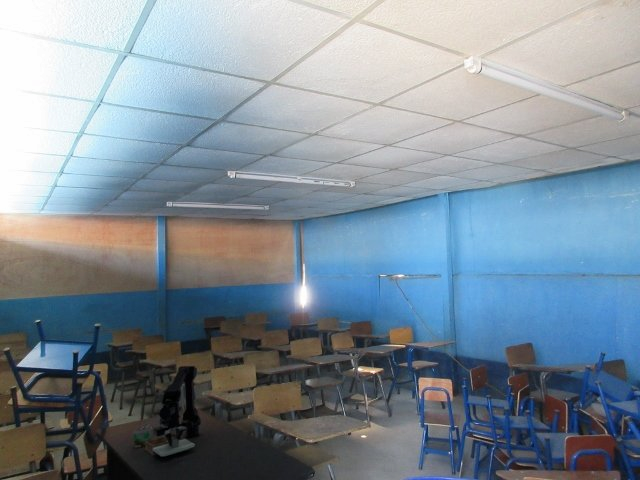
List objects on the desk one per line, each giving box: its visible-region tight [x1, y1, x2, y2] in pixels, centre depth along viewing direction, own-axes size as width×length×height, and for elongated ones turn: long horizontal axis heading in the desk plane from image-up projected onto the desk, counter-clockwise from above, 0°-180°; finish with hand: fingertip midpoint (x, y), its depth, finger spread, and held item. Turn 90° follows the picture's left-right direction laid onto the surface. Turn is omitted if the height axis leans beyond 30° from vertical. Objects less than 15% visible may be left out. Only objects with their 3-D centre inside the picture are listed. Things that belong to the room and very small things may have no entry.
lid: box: [153, 437, 195, 457], centre depth 219 cm, size 17×12×6 cm
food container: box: [132, 422, 153, 449], centre depth 236 cm, size 12×6×10 cm, turn 168°
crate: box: [144, 432, 184, 456], centre depth 228 cm, size 16×11×5 cm
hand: (173, 445), depth 219 cm, fingers closed on lid, 3 cm apart
